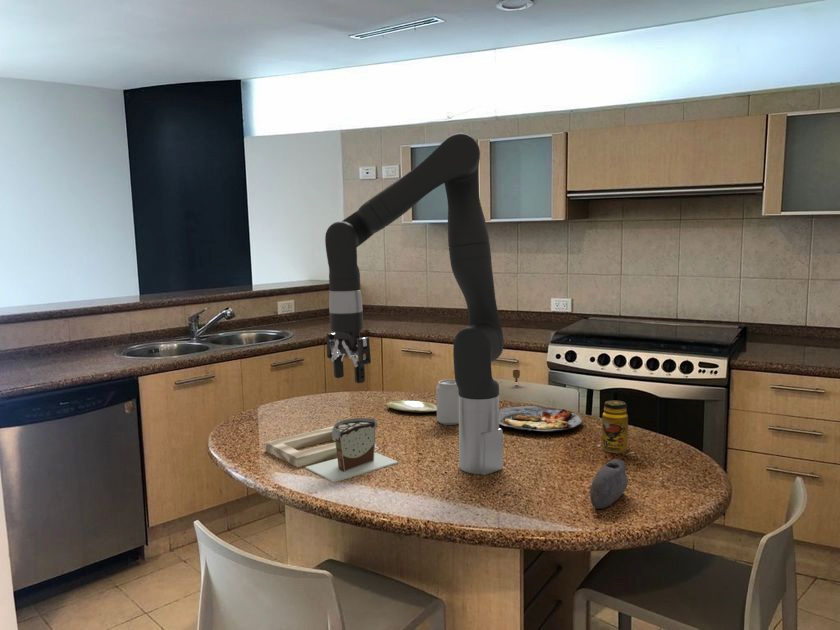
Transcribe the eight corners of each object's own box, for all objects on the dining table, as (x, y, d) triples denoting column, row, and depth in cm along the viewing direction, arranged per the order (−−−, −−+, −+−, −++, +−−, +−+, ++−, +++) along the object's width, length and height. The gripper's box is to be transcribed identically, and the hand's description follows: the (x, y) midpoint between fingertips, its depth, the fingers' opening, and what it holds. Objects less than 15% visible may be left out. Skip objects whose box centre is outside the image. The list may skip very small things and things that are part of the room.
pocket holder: (367, 448, 170) (367, 439, 170) (297, 467, 158) (297, 457, 157) (333, 434, 183) (332, 426, 182) (265, 451, 170) (265, 442, 170)
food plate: (590, 419, 194) (590, 407, 193) (570, 442, 173) (570, 429, 173) (508, 410, 205) (508, 398, 204) (479, 431, 184) (479, 418, 184)
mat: (398, 463, 159) (398, 461, 159) (333, 483, 148) (333, 480, 148) (368, 451, 168) (368, 449, 168) (305, 468, 157) (305, 466, 157)
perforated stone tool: (605, 517, 128) (606, 482, 127) (579, 511, 131) (579, 477, 130) (632, 492, 140) (633, 460, 139) (607, 487, 143) (608, 455, 142)
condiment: (604, 455, 163) (605, 406, 161) (594, 443, 171) (595, 397, 169) (634, 454, 163) (635, 405, 161) (623, 443, 171) (623, 396, 170)
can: (467, 420, 193) (467, 379, 192) (455, 427, 187) (454, 385, 186) (445, 417, 197) (444, 377, 196) (432, 423, 191) (431, 382, 190)
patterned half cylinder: (360, 454, 165) (359, 414, 164) (378, 459, 161) (377, 418, 160) (321, 467, 156) (320, 425, 155) (339, 473, 152) (337, 430, 151)
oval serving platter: (499, 416, 198) (499, 409, 198) (485, 425, 189) (485, 418, 188) (397, 403, 215) (397, 397, 214) (379, 411, 205) (379, 405, 205)
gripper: (378, 310, 150) (380, 381, 152) (342, 306, 161) (345, 373, 163) (350, 313, 145) (353, 387, 147) (315, 309, 156) (318, 378, 158)
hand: (349, 380), depth 155 cm, fingers open, 8 cm apart
